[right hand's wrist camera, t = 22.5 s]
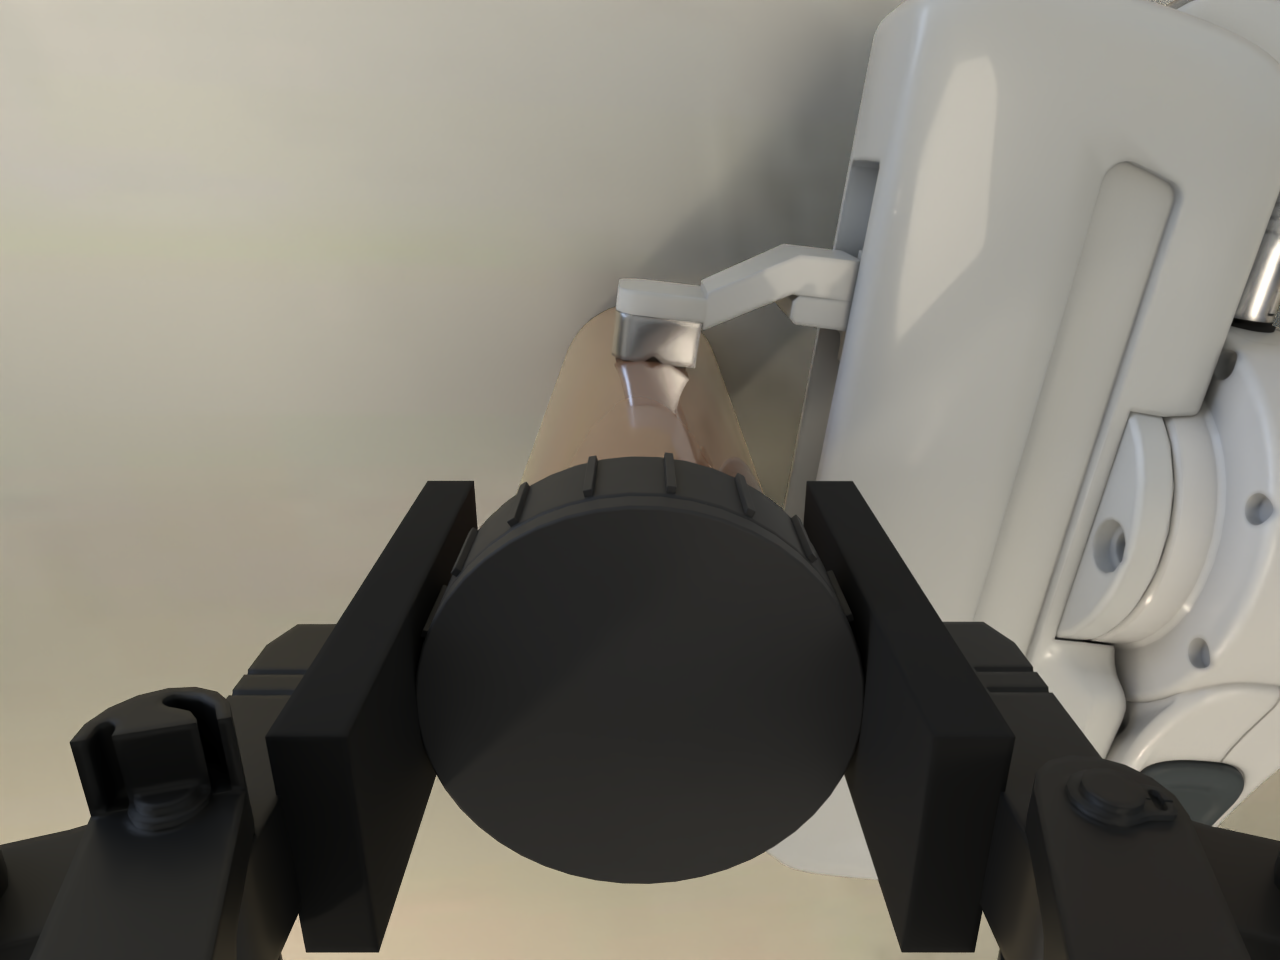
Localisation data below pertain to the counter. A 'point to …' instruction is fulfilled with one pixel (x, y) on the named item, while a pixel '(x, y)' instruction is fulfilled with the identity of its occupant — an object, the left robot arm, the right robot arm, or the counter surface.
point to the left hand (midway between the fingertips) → (600, 449)
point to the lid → (640, 673)
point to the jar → (637, 410)
